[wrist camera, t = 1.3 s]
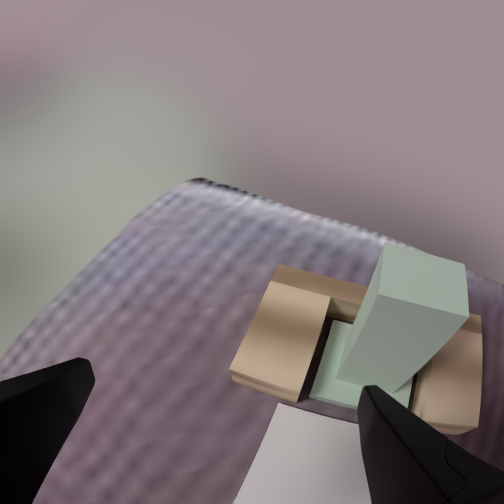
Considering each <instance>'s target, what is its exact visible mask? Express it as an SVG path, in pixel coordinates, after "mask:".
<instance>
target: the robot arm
mask: <svg viewBox="0 0 504 504" xmlns="http://www.w3.org/2000/svg"><path fill="white" fill-rule="evenodd" d="M94 384H95V377H94V374H93V370H92V367H91V363H90V361H89V360H88V359H84V358H80V357H78V358H75V359H72V360H69V361H65V362H62V363H59V364H56V365H53V366H50V367H47V368H43V369H40V370H37V371H34V372H30V373H27V374H24V375H20V376H17V377H14V378H10V379H7V380H3V381H1V382H0V504H32V503H33V501H34V498H35V496H36V494H37V492H38V491H39V489H40V487H41V485H42V483H43V481H44V479H45V477H46V475H47V473H48V472H49V470H50V468H51V466H52V464H53V462H54V461H55V459H56V457H57V455H58V453H59V452H60V450H61V448H62V446H63V444H64V443H65V441H66V439H67V437H68V436H69V434H70V432H71V430H72V429H73V427H74V425H75V424H76V422H77V420H78V418H79V417H80V415H81V413H82V410H83V408H84V406H85V404H86V402H87V399H88V397H89V395H90V393H91V391H92V389H93V387H94ZM357 414H358V424H359V434H360V446H361V454H362V459H363V463H364V468H365V473H366V478H367V483H368V488H369V493H370V498H371V503H372V504H504V472H503V471H501V470H499V469H497V468H496V467H494V466H492V465H490V464H488V463H486V462H484V461H482V460H481V459H479V458H477V457H475V456H474V455H472V454H470V453H469V452H467V451H466V450H464V449H463V448H461V447H460V446H458V445H457V444H455V443H454V442H453V441H451V440H448V438H447V437H446V436H444V435H443V434H441V433H440V432H439V431H437V430H436V429H435V428H433V427H432V426H431V425H429V424H428V423H426V422H425V421H424V420H422V419H421V418H420V417H418V416H417V415H416V414H414V413H413V412H412V411H410V410H409V409H408V408H406V407H405V406H404V405H402V404H401V403H400V402H398V401H397V400H396V399H394V398H393V397H392V396H390V395H389V394H388V393H386V392H385V391H384V390H382V389H381V388H380V387H379V386H377V385H366V386H364V387H363V388H362V391H361V395H360V399H359V403H358V407H357Z"/></svg>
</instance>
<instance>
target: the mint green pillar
mask: <svg viewBox="0 0 504 504" xmlns="http://www.w3.org/2000/svg"><path fill="white" fill-rule="evenodd" d="M468 318H469V306H468V292H467V282H466V272H465V265H464V264H461V263H457V262H454V261H451V260H447V259H444V258H440V257H437V256H433V255H430V254H426V253H423V252H419V251H415V250H412V249H408V248H404V247H400V246H397V245H393V244H389V243H385V244H384V246H383V249H382V252H381V255H380V258H379V261H378V263H377V266H376V269H375V271H374V274H373V277H372V279H371V282H370V285H369V287H368V290H367V292H366V295H365V297H364V300H363V302H362V305H361V307H360V309H359V312H358V314H357V316H356V319H355V321H354V323H353V325H352V324H348V323H344V322H340V321H337V320H333V322H332V325H331V329H330V332H329V336H328V339H327V342H326V346H325V349H324V352H323V355H322V359H321V362H320V365H319V368H318V371H317V374H316V377H315V380H314V383H313V386H312V389H311V392H310V395H309V398H312V399H316V400H320V401H323V402H327V403H331V404H335V405H339V406H343V407H347V408H351V409H355V410H357V407H358V403H359V399H360V395H361V391H362V388H363V387H364V386H366V385H377V386H379V387H380V388H381V389H382V390H384V391H385V392H386V393H388V394H389V395H390V396H392V397H393V398H394V399H396V400H397V401H398V402H400V403H401V404H402V405H404V406H405V407H406V408H408V403H409V398H410V392H411V386H412V380H413V375H414V374H415V373H416V372H417V371H418V370H419V369H420V368H422V367H423V366H424V365H425V364H426V363H427V362H428V361H429V360H430V359H431V358H432V357H433V356H434V355H435V354H436V353H437V352H438V351H439V350H440V349H441V348H442V347H443V345H444V344H445V343H446V342H447V341H448V340H449V339H450V338H451V337H452V336H453V335H454V334H455V333H456V331H457V330H458V329H459V328H460V327H461V326H462V325H463V323H464V322H465V321H466V320H467V319H468Z"/></svg>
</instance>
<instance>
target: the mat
mask: <svg viewBox="0 0 504 504" xmlns="http://www.w3.org/2000/svg"><path fill="white" fill-rule="evenodd" d="M233 504H372V503H371V498H370V493H369V488H368V483H367V478H366V473H365V468H364V463H363V459H362V454H361V446H360V434H359V424H354V423H350V422H346V421H341V420H337V419H333V418H329V417H326V416H322V415H318V414H315V413H311V412H307V411H304V410H300V409H297V408H294V407H290V406H287V405H284V404H281V403H278V406H277V408H276V411H275V413H274V415H273V418H272V420H271V423H270V425H269V427H268V430H267V432H266V434H265V437H264V439H263V441H262V444H261V446H260V448H259V450H258V453H257V455H256V457H255V459H254V461H253V464H252V466H251V468H250V470H249V472H248V474H247V476H246V478H245V481H244V483H243V485H242V487H241V489H240V491H239V493H238V495H237V497H236V499H235V501H234V503H233Z"/></svg>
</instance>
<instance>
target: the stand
mask: <svg viewBox="0 0 504 504" xmlns="http://www.w3.org/2000/svg"><path fill="white" fill-rule="evenodd" d="M367 290H368V287H366V286H362V285H358V284H354V283H350V282H346V281H342V280H338V279H335V278H331V277H327V276H323V275H319V274H315V273H311V272H308V271H304V270H300V269H296V268H292V267H288V266H285V265H281V264H278V266H277V268H276V270H275V272H274V274H273V277H272V279H271V281H270V283H269V285H268V288H267V290H266V292H265V294H264V296H263V298H262V301H261V303H260V305H259V307H258V309H257V311H256V314H255V316H254V318H253V320H252V322H251V324H250V326H249V328H248V331H247V333H246V335H245V337H244V339H243V341H242V343H241V345H240V347H239V349H238V352H237V354H236V356H235V358H234V360H233V362H232V364H231V366H230V368H229V370H230V373H231V375H232V378H233V381H234V382H235V383H238V384H241V385H244V386H246V387H249V388H252V389H255V390H258V391H261V392H264V393H267V394H270V395H273V396H276V397H279V398H282V399H285V400H288V401H291V402H295V403H297V400H298V397H299V395H300V392H301V389H302V386H303V384H304V381H305V378H306V375H307V372H308V369H309V366H310V363H311V360H312V358H313V355H314V351H315V348H316V345H317V342H318V339H319V336H320V333H321V330H322V326H323V323H324V320H325V316H328V317H331V318H335V319H339V320H343V321H347V322H350V323H354V321H355V319H356V316H357V314H358V312H359V309H360V307H361V305H362V302H363V300H364V297H365V295H366V292H367ZM481 389H482V325H481V316H479V315H475V314H471V313H469V318H468V319H467V320H466V321H465V322H464V323H463V325H462V326H461V327H460V328H459V329H458V330H457V331H456V333H455V334H454V335H453V336H452V337H451V338H450V339H449V340H448V341H447V342H446V343H445V344H444V345H443V347H442V348H441V349H440V350H439V351H438V352H437V353H436V354H435V355H434V356H433V357H432V358H431V359H430V360H429V361H428V362H427V363H426V364H425V365H424V366H423V367H422V368H420V369H419V370H418V373H417V380H416V387H415V393H414V399H413V404H412V410H411V411H412V412H413V413H414V414H416V415H417V416H418V417H420V418H421V419H422V420H424V421H425V422H426V423H428V424H429V425H431V426H432V427H433V428H435V429H436V430H437V431H439V432H440V433H443V434H452V435H460V434H463V433H465V432H467V431H470V430H472V429H474V428H476V427H478V423H479V414H480V403H481Z"/></svg>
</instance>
